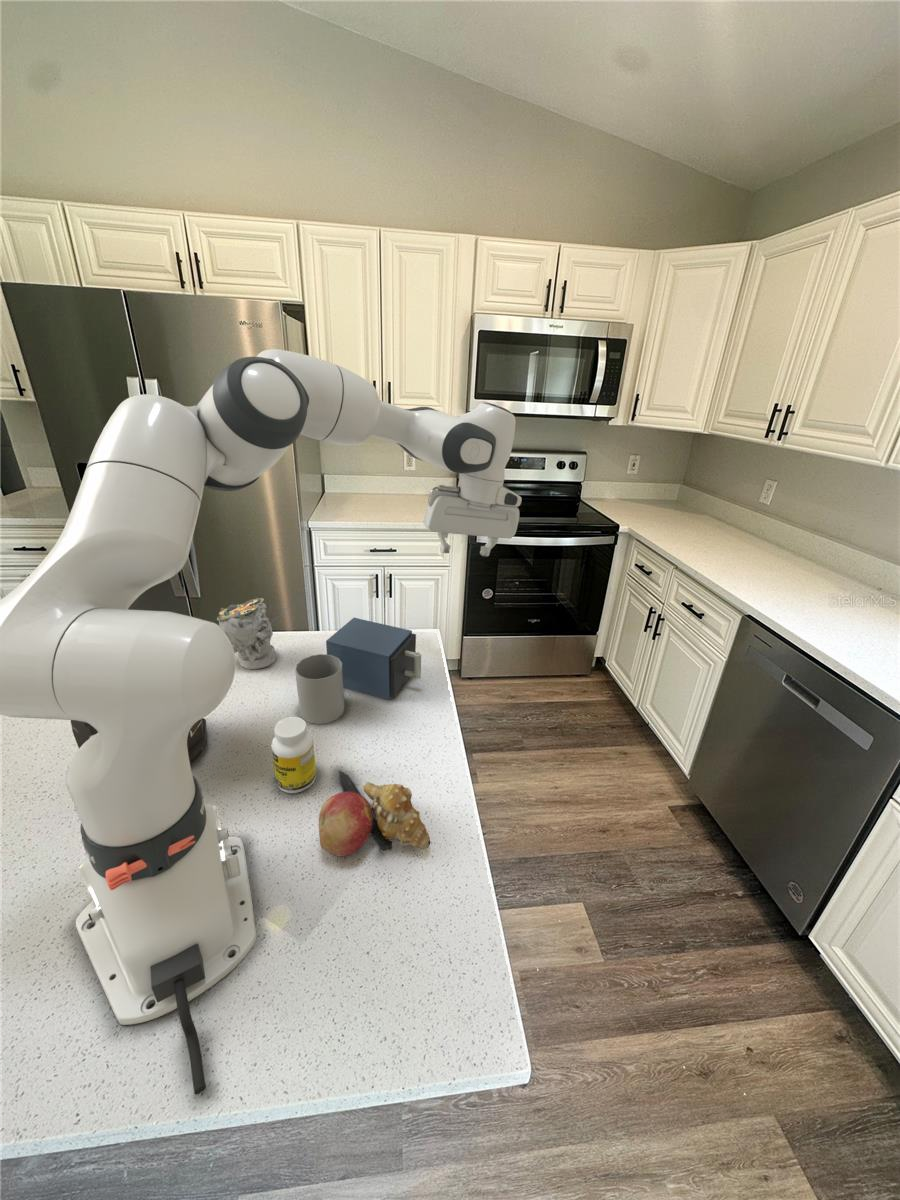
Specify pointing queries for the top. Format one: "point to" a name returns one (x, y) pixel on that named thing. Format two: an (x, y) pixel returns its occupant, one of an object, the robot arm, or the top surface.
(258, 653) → the bust
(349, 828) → the fruit
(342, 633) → the blue cabinet
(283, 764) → the pill bottle
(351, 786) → the knife
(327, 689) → the cup
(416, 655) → the drawer with handle
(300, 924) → the top surface
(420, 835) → the seashell
